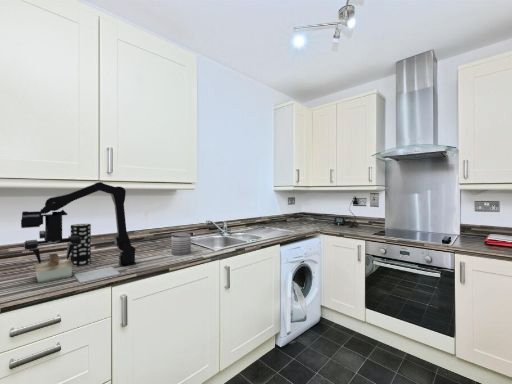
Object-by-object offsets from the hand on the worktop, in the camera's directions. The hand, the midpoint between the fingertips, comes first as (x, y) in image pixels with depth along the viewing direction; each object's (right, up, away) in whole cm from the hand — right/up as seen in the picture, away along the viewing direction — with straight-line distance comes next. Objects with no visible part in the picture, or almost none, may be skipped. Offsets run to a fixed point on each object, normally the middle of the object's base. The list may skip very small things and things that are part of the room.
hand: (54, 261), depth 107 cm
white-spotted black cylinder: (-1, -7, +18) cm, 19 cm away
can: (+43, -7, +40) cm, 59 cm away
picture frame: (+18, -7, +2) cm, 19 cm away
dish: (0, -7, 0) cm, 7 cm away
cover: (0, -2, 0) cm, 2 cm away
